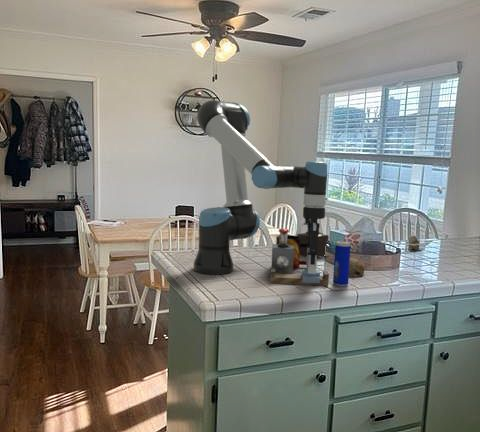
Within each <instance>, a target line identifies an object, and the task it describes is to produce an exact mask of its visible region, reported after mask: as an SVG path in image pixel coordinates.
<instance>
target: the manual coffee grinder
mask: <svg viewBox="0 0 480 432" xmlns="http://www.w3.org/2000/svg"><path fill="white" fill-rule="evenodd" d="M303 219H304V220H305V221H304V223H303V225H304V226H307V223H309V220H310V218H304V217H303ZM296 236H299V237H301V243H308V230H307V231H306V232H303V233H297V234H296ZM329 236H330V235H327V234H324V233H322V232H320V231H319V235H318V251H317V252H318V254H317V258H322V257H325V256H324V255H325V246H326V242H327V241H328V242H329V238H330V237H329ZM307 248H308V247H300V256H303V257H306V258H307Z"/></svg>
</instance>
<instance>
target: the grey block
mask: <svg viewBox="0 0 480 432" xmlns="http://www.w3.org/2000/svg"><path fill="white" fill-rule="evenodd" d="M271 249H272V251H271V267H270V269H271V268H275V273H279V274H294V269H293V259H294V245H287V248H285V247H279V244H276V243H272V247H271Z"/></svg>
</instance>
